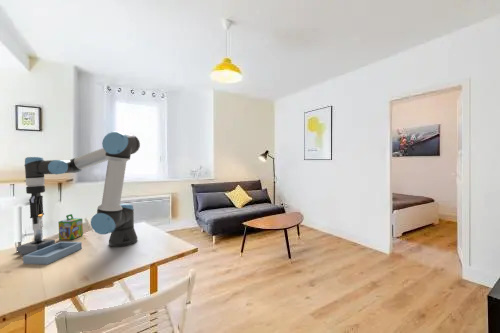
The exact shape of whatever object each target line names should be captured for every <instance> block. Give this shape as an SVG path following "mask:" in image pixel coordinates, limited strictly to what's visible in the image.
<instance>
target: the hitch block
mask: <svg viewBox="0 0 500 333" xmlns="http://www.w3.org/2000/svg"><path fill="white" fill-rule="evenodd" d="M53 244H56V239H44V238H43V240H42V241H38V242H34V240H33V241H30V242H27V243H24V244H20V245H18V246H16V248H15V249H16V252H17V251H18V252H17V253H19V252H20V254H19V255H20V256H24V255H27V254H30V253H32V252H35V251H37V250H40V249H43V248H45V247H48V246H50V245H53Z"/></svg>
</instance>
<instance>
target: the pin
mask: <svg viewBox="0 0 500 333" xmlns="http://www.w3.org/2000/svg"><path fill="white" fill-rule="evenodd" d="M38 216H39V221H40V229H39V230H33V241H34V242H38V241H42V240H43V239H44V238H43V227H42V221H43V217H44V215H43V214H38Z"/></svg>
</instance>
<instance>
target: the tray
mask: <svg viewBox="0 0 500 333" xmlns="http://www.w3.org/2000/svg"><path fill="white" fill-rule="evenodd" d="M82 244H83V243H82V242H81V241H79V242H78V241H59V242H55V244H53V245H50V246H48V247H45V248H43V249H40V250H37V251H35V252H32V253H30V254H27V255H22V263H23V265H26V264H27V265H49V264H51V263H53V262H55V261H58V260H60V259H62V258H64V257H66V256H69V255H70V254H73V253H75V252H77V251H79V250H82V248H83V247H82Z"/></svg>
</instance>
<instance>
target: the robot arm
mask: <svg viewBox="0 0 500 333" xmlns="http://www.w3.org/2000/svg"><path fill="white" fill-rule="evenodd" d="M101 144H102V148H100V149H97V150H94V151H90V152H88V153H85V154H81V155H80V156H78V157H75V158H72V159H62V160H60V159H50V160H44V158H43V157H42V156H28V157H25V158H24V169H25V170H24V174H25V180H24V182H25V185H26V187H25V189H26V190H25V191H26V192H25V193H26V194H28V195H29V194H30V196H31V197H29V199H28V201H29V212H30V214H29V215H30V216H29V219H31V220H32V223H31V224H32V231H34V230H39V229H40V221H39V216H38V214H43V216H44V215H45V213H44V203H43V202H44V201H43V200H44V198H43V197H44V196H43V195H42V194H43V193H45V192H46V187H45V185H46V183H45V175H63V174H71V173H72V174H76V173H80V172H82V171H83V169H88V168H91V167H92V166H96V165H98V164H101V163H105V162H107V165H106V172H105V178H104V183H103V184H104V185H103V190H102V191H103V192H102V198H101V204H100V205H97V209H96V210H97V211H96V213H95V214H94V215H93V216H92V218H91V219H90V226H91V229H92V230H94V232H95V233H97V234H99V235H109V234H110V236H109V239H108V246H109V247H113V248H121V247H126V246H127V247H128V246H131V245H134V244H135V243H137V242H138V235H137V233H136V230H135V224H134V223H135V220H134V218H135V217H134V216H135V214H134V205H133V204H131V203H121V202H122V201H121V200H122V194H123V187H124V180H125V173H126V168H127V167H126V166H127V162H128V161H129V160H130V159H131V156H132V155H133V154H135V153H138V151H139V150H140V148H141V143H140V139H139V138H138V136H136V135H134V134H132V133H126V132H123V131H111V132H108V133H107V134H106V135H105V136H104V137H103V138H102V142H101ZM43 223H44V222H43V220H42V228H43V227H44V224H43Z"/></svg>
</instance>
